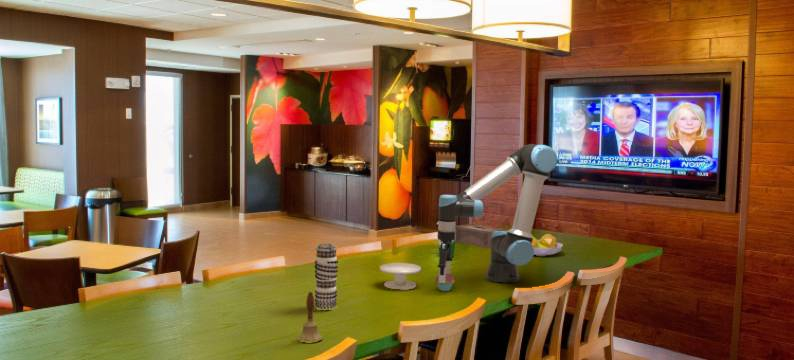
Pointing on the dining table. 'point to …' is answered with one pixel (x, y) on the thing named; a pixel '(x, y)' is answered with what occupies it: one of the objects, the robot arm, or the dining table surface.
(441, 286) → the cupcake
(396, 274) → the cake stand
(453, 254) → the milk carton
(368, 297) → the dining table surface
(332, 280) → the decorative candle
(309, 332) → the hand bell
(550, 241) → the fruit bowl
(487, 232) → the tissue box cover
